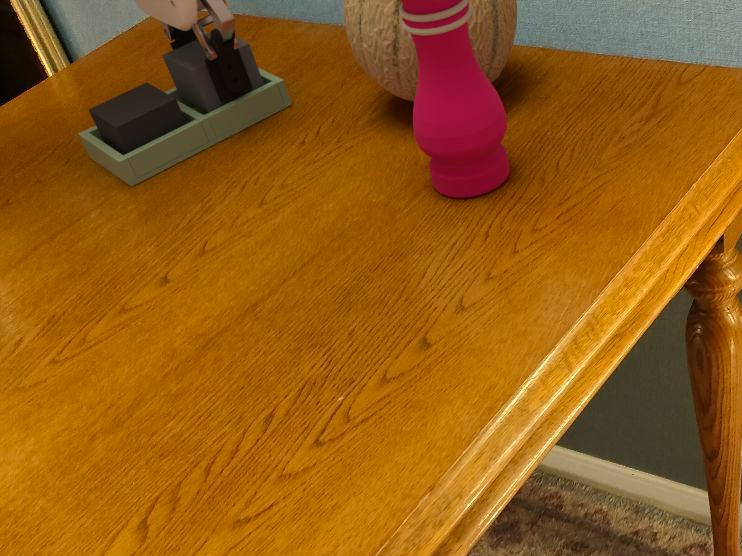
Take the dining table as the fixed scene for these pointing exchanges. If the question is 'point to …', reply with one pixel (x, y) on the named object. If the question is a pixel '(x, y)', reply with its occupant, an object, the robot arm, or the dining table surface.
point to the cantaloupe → (397, 49)
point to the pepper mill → (454, 101)
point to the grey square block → (204, 73)
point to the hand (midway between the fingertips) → (219, 86)
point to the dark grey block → (137, 118)
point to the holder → (189, 132)
